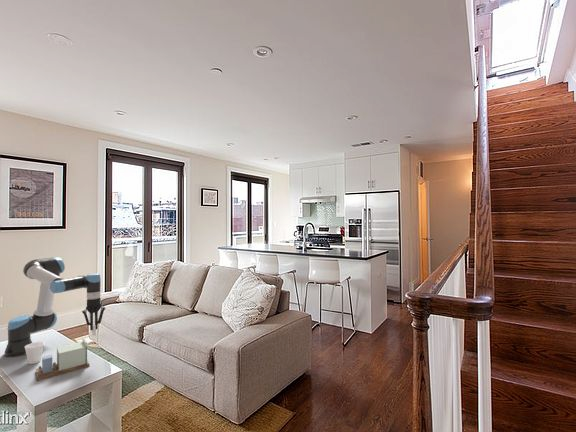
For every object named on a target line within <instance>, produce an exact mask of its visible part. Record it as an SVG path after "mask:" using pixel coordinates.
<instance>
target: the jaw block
mask: <svg viewBox="0 0 576 432" xmlns="http://www.w3.org/2000/svg"><path fill="white" fill-rule="evenodd" d="M41 361H42V363H41V364H42V365H41V368H42V372H43V373H46V372H50V371H52V365H53V355H52V354H50V355H45V356H41Z"/></svg>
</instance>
